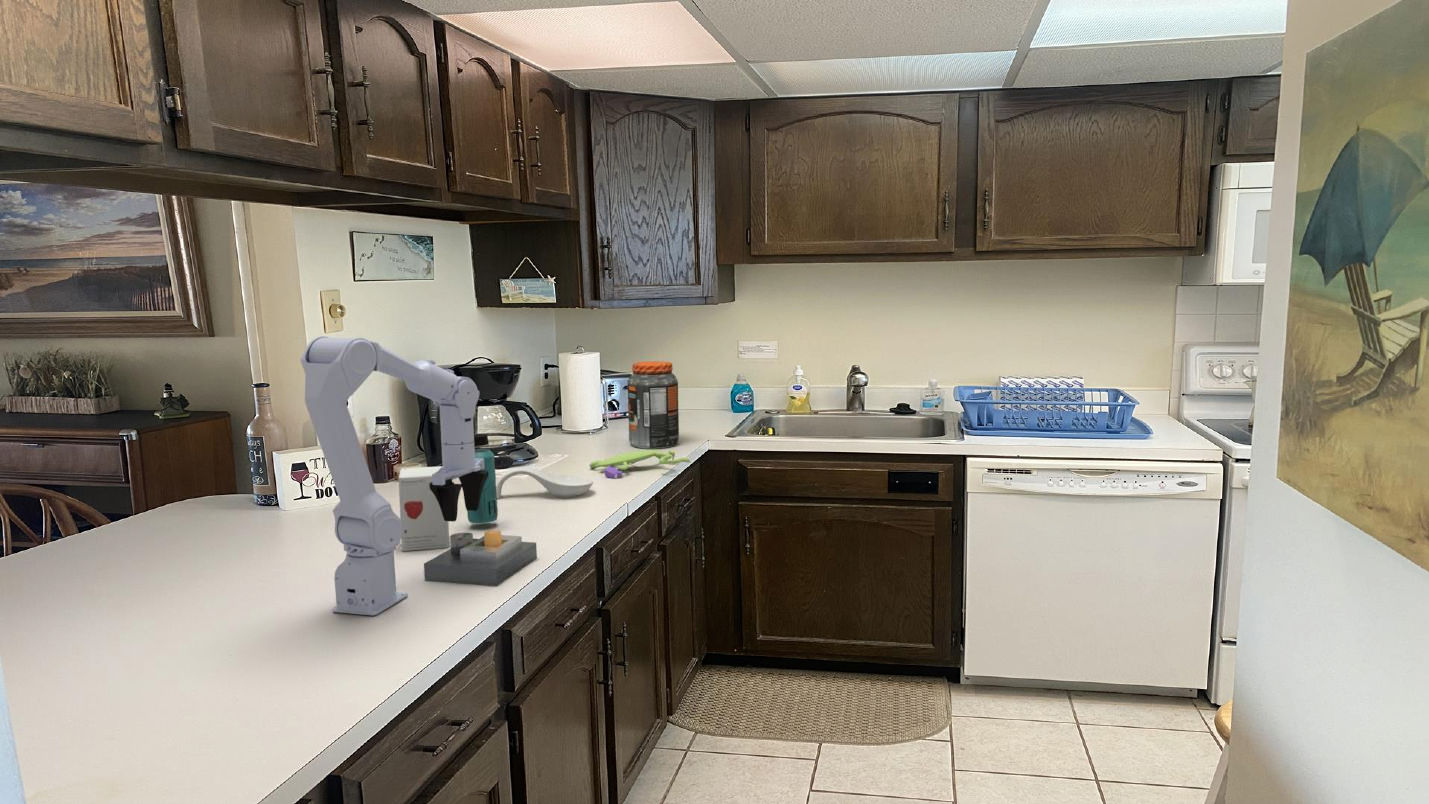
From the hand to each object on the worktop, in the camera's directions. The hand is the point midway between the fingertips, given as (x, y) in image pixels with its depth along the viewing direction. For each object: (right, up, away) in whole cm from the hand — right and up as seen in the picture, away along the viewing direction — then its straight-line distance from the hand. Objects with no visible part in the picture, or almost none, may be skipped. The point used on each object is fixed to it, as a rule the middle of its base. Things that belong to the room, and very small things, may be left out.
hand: (461, 515), depth 167 cm
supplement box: (-12, -8, +17) cm, 22 cm away
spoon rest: (+5, -3, +56) cm, 56 cm away
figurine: (+26, +1, +83) cm, 87 cm away
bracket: (+6, -7, 0) cm, 9 cm away
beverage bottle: (-3, -6, +29) cm, 30 cm away
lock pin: (+6, -10, 0) cm, 12 cm away
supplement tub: (+27, +7, +120) cm, 123 cm away
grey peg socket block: (+4, -10, 0) cm, 10 cm away
